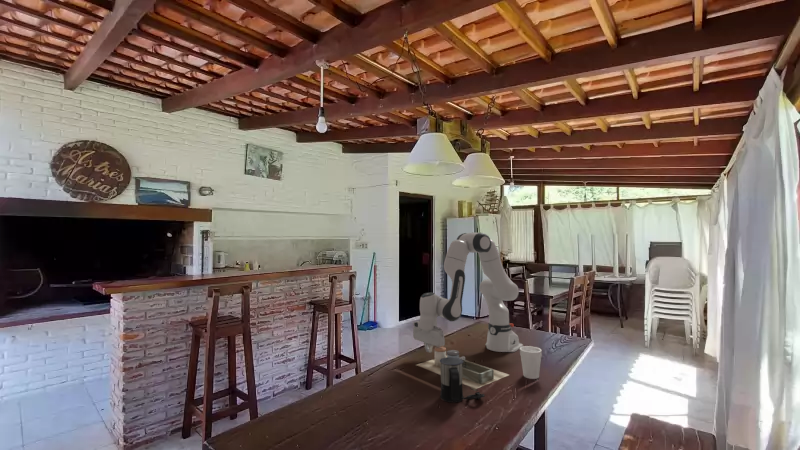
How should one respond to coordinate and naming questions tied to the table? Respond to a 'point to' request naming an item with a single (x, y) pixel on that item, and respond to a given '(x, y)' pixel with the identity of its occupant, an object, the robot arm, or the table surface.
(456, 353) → the jar
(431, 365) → the cream rippled cloth
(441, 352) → the jar
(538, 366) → the foam cup
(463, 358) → the pusher
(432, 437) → the table surface
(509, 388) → the table surface
